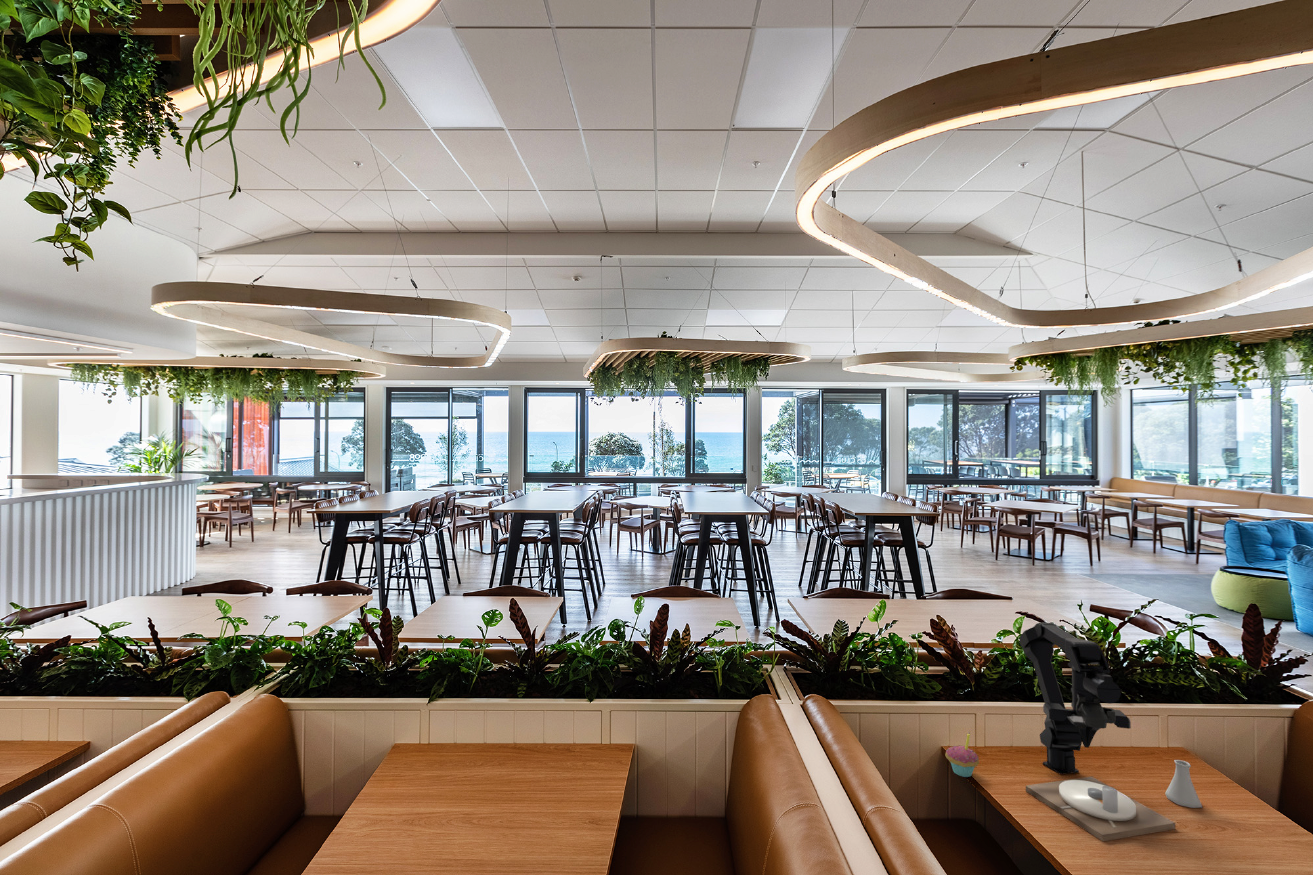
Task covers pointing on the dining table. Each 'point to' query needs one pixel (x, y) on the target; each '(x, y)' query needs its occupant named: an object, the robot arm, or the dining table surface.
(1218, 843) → the dining table surface
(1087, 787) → the dial
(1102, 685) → the robot arm
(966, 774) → the cupcake
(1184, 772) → the flask
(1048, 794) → the dial base
